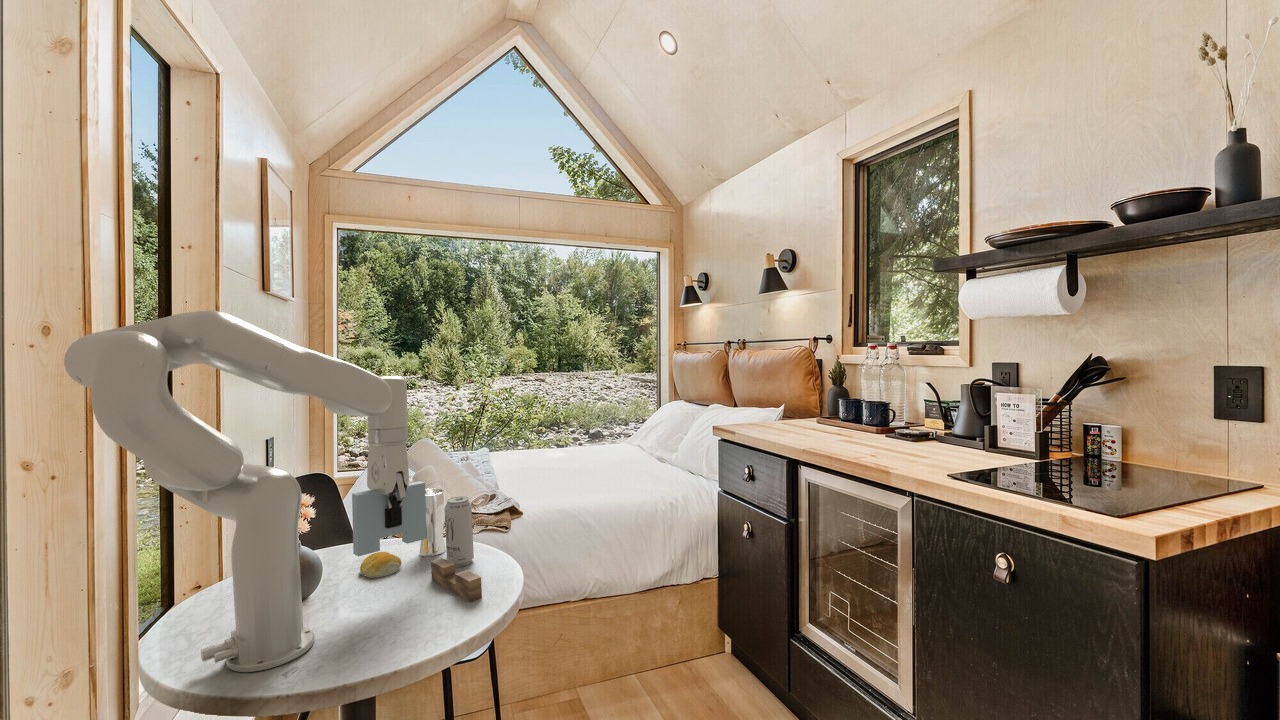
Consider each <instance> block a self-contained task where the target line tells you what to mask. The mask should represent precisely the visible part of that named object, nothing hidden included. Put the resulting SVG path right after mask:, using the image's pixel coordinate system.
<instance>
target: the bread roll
mask: <svg viewBox="0 0 1280 720" xmlns="http://www.w3.org/2000/svg"><path fill="white" fill-rule="evenodd" d="M402 563H403V562H402V559H401V558H400V557H399V556H397V555H395V554H392V553H390V552H388V551H377V552H374V553H370V554H368V556H366V557H365V558H364V559H363V560H362V562H361V564H360V567H359V572H360V574H361V575H362V576H365V577H367V578H370V579H371V578H372V579H373V578H374V579H375V578H376V579H377V578H382V577H386V576H389V575H392V574H395V573H397V572H398V571H399V570H400V568H401V567H402Z"/></svg>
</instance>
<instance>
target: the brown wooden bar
mask: <svg viewBox="0 0 1280 720" xmlns="http://www.w3.org/2000/svg"><path fill="white" fill-rule="evenodd" d="M430 573H431V582H434V583H436V584H437V585H439V586H441V587H443V589H444V588H445V589H447V590H448V591H449V592H452V593H454V595H455V594H456V595H457V596H459V597H461V598H462V599H464V600H466V601H468V602H470V603H471V602H474V601H477V600H479V599H482V597H483V592H482V576H480V575H478V574H476V573H474V572H472V571H470V570H468V569H465V570H463V571H460V572H458V573H456V567H455V564H454V563H452V562H449V561H447V559H445V558H444V557H440V558H436V559H434V560H430Z"/></svg>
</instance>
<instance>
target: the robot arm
mask: <svg viewBox="0 0 1280 720" xmlns="http://www.w3.org/2000/svg"><path fill="white" fill-rule="evenodd" d="M192 364H193V365H195V364H196V365H198V364H200V365H203V364H204V365H206V366H209V367H211V368H215V369H217V370H219V371H222V372H225V373H228V374H231V375H234V376H237V377H239V378H241V379H244V380H247V381H250V382H252V383H255V384H256V385H257V384H258V385H259V386H262V387H264V388H267V389H270V390H272V391H273V390H274V391H278V392H281V393H286V394H290V395H300V396H308V397H312V398H313V397H314V398H317V399H321V400H320V401H321V403H322V405H323V406H324V408H325V409H326V410H327V411H329V412H330V413H332V414H335V415H338V416H349V417H353V416H354V417H355V416H356V417H367V445H368V452H367V464H366V465H367V466H366V467H367V469H366V471H367V472H366V474H367V476H366V484H367V485H366V486H367V488H368V489H369V490H375V491H378V493H380V494H382V495H386V503H387V508H386V509H385V527H386V528H393V527H397V526H401V525H402V500H403V499H405V498H406V493H405V491H407V490H408V488H409V483H410V468H409V457H408V449H407V443H408V442H409V429H408V428H409V427H408V425H409V424H408V422H409V421H408V391H407V390H408V388H407V387H408V386H407V381H406V379H405V378H404V377H402V376H399V375H385V376H384V375H382V376H379V375H377V374H374V373H373V372H370V371H368V370H366V369H364V368H362V367H359V366H357V365H355V364H353V363H349V362H347V361H346V360H345V361H344V360H342V359H339V358H335V357H332V356H329V355H325V354H324V353H320V352H318V351H315V350H314V349H313V350H312V349H308V348H306V347H302V346H299V345H298V344H295V343H292V342H290V341H288V340H285V339H283V338H281V337H279V336H277V335H275V334H273V333H270V332H268V331H267V330H264V329H262V328H260V327H258V326H255V325H254V324H251V323H249V322H247V321H244V320H243V319H241V318H238V317H236V316H233V315H231V314H229V313H226V312H223V311H219V310H211V309H210V310H208V309H207V310H199V311H198V310H197V311H188V312H181V313H178V314H177V313H176V314H173V315H169V316H166V317H160V318H157V319H153V320H150V321H143V322H139V323H135V324H129V325H126V326H121V327H117V328H115V327H114V328H112V329H106V330H102V331H98V332H93V333H89V334H86V335H84V336H81V337H79V338H78V339H76V340H75V341H74V342H73V343H72V344H71V345H69V347H68V348H67V349H66V352H65V353H64V358H63V365H64V369H65V371H66V373H67V375H68V376H69V377H70V378H71V379H72V380H73V381H74V382H76V383H77V384H78V385H81V386H83V387H86V388H89V389H91V390H90V391H91V392H90V400H91V407H92V411H93V414H94V417H95V420H96V422H97V424H98V426H99V427H100V429H101V431H102V432H103V433H104V434H105V435H106V436H107V437H108V438H110V440H111V441H113V442H114V443H116V444H117V445H119V446H120V447H121V448H123V449H124V450H126V451H128V452H129V453H130V454H132V455H134V456H135V457H137V458H139V459H140V460H141V461H142V465H143V468H144V470H145V472H146V473H147V475H148V476H149V478H150V479H151V480H152V481H154V482H155V483H156V484H158V485H159V486H161V487H162V488H164V489H166V490H168V491H169V492H171V493H173V494H175V495H177V496H178V497H181V498H182V499H184V500H185V501H188V503H191V504H193V505H195V506H196V507H199V508H200V509H202V510H204V511H206V512H208V513H210V514H212V515H215V516H217V517H220V518H223V519H227V520H231V521H235V531H234V535H233V538H232V543H231V550H230V551H231V553H230V556H231V558H230V560H231V562H230V563H231V572H232V573H231V574H232V586H233V589H232V590H233V605H234V607H233V608H234V618H235V619H234V620H235V630H232V631H231V632H230V637H229V638H227V639H224V641H223V642H222V643H218V644H216V645H215V644H214V645H211V646H208V647H205V648H202V649H200V658H201V661H202V663H204V662H206V661H210V660H212V659H213V662H214V663H219V662H220V661H224V660H225V662H226V667H227V668H228V669H229V670H231V671H234V672H239V673H250V672H251V673H254V672H260V671H266V670H270V669H272V668H275V667H276V668H277V667H278V666H281V665H284V664H287V663H289V662H291V661H293V660H295V659H297V658H299V657H300V656H302V655H303V654H304V653H306V652H308V650H309V649H311V647H312V646H313V645H314V642H315V633H314V631H313V630H312V629H310V628H308V627H305V626H304V616H303V614H304V613H303V601H302V600H303V598H302V597H303V596H302V582H301V581H302V580H301V577H302V576H301V564H300V552H299V551H300V548H299V546H300V545H299V523H300V514H301V507H302V498H303V496H302V495H303V494H302V490H301V486H300V484H299V482H298V480H297V479H296V477H295V476H293V475H292V474H291V473H289V472H288V471H286V470H284V469H281V468H278V467H274V466H267V465H259V464H250V463H247V462H246V461H245V458H244V454H243V452H242V449H241V448H240V446H238V445H237V443H236V442H235V441H234V440H233V439H231V438H230V437H229V436H227V435H225V434H223V433H222V432H220V431H218V430H217V429H215V428H214V427H212V426H211V425H209V424H207V423H205V421H203V420H201V419H200V418H198V417H197V416H195V415H194V414H192V413H191V412H190V411H188V410H187V409H186V408H184V407H183V406H182V405H180V404H179V403H178V402H177V401H176V400H175V399H174V397H173V396H172V395H171V393H170V390H169V386H168V377H169V372H170V371H173V370H176V369H179V368H180V369H181V368H183V367H187V366H190V365H192ZM394 489H396V491H395V492H392V491H393V490H394ZM395 495H396V496H395ZM391 496H394V497H393V498H392V500H391Z"/></svg>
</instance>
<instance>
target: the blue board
mask: <svg viewBox="0 0 1280 720" xmlns="http://www.w3.org/2000/svg"><path fill="white" fill-rule="evenodd" d="M425 490H426V482H424V481H422V480H421V481H420V480H418V481H413V482H409V488H408V490H407V491H405V493H406V498H405V499H403V500H402V525H401V526H397V527H393V528H386V527H385V509H386V508H387V503H386V495H382V494H380V493H378V491H375V490H370V489H369V490H365V491H359V492H354V493H351V504H352V506H351V507H352V510H351V511H352V544H353V546H352V549H353V555H355V556H356V557H362V556H365V555H371V554H374V553H377V552H381V543H380V542H381V540H380V539H383V538H387V537H392V536H395V535H400V534H401V542H403V543H405V544H411V543H415V542H416V543H417V542H421V540H423V539H427V535H426V491H425ZM395 491H396V489H394V490H393V491H392V492H395ZM395 496H396V495H395ZM393 497H394V496H391V500H392V498H393Z"/></svg>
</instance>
